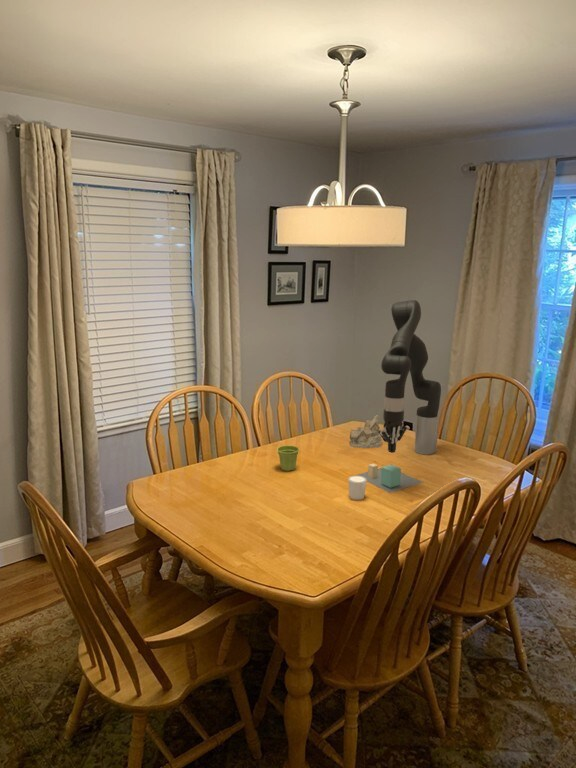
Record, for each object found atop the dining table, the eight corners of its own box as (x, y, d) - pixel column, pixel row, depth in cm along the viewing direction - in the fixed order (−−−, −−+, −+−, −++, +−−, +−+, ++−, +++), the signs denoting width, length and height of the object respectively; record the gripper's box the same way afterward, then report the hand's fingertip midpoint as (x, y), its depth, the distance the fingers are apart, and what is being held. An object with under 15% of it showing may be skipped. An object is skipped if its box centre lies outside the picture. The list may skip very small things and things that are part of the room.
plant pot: (273, 470, 233) (273, 451, 231) (282, 463, 241) (282, 444, 239) (294, 474, 230) (294, 454, 228) (302, 466, 238) (302, 447, 236)
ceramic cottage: (382, 437, 275) (381, 408, 271) (382, 450, 259) (381, 419, 255) (350, 437, 278) (349, 408, 274) (348, 450, 262) (347, 419, 258)
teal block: (390, 480, 220) (391, 464, 219) (400, 484, 216) (401, 468, 214) (380, 483, 217) (381, 467, 216) (390, 487, 213) (391, 471, 212)
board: (387, 468, 236) (388, 455, 235) (423, 484, 220) (424, 470, 219) (354, 477, 226) (355, 463, 225) (389, 495, 210) (390, 480, 209)
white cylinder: (367, 494, 211) (368, 476, 209) (364, 501, 205) (364, 483, 203) (349, 491, 213) (350, 474, 212) (345, 498, 207) (346, 481, 205)
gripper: (399, 403, 216) (397, 446, 220) (373, 408, 209) (372, 452, 213) (413, 407, 210) (411, 451, 214) (388, 413, 203) (385, 458, 207)
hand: (391, 452), depth 214 cm, fingers closed
